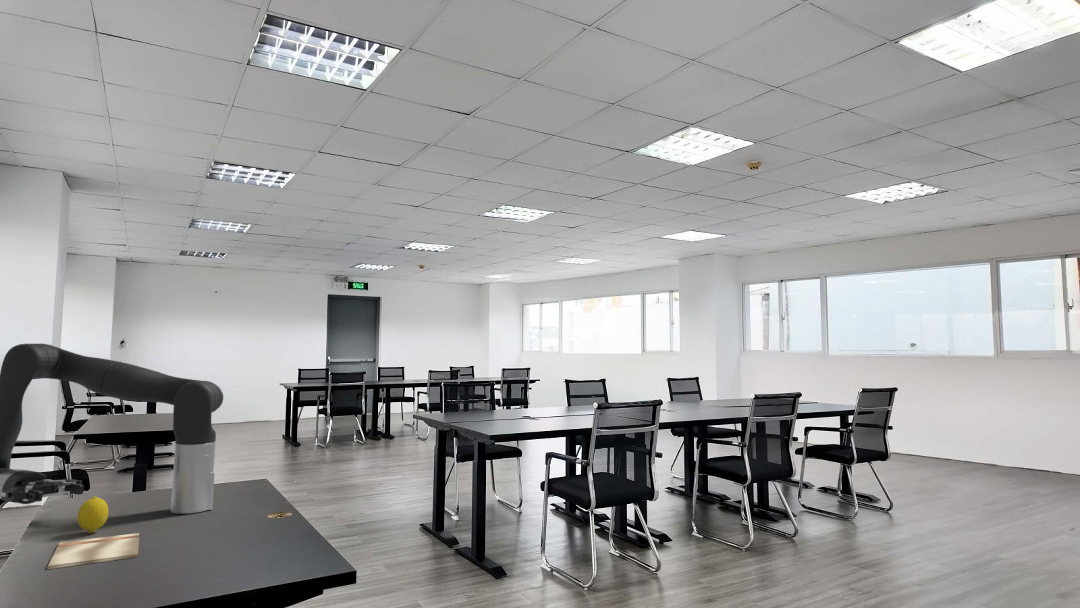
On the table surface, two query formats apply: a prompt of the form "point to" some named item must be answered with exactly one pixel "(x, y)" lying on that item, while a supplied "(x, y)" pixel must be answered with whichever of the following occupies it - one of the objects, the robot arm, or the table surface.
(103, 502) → the lemon
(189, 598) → the table surface
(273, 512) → the table surface
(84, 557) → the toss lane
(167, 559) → the table surface
